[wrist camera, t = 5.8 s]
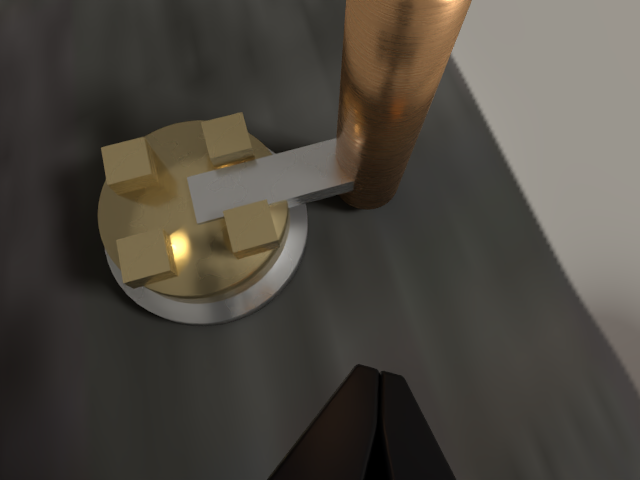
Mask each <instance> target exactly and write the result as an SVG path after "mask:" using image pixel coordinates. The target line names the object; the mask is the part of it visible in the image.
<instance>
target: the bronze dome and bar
mask: <svg viewBox="0 0 640 480" xmlns="http://www.w3.org/2000/svg"><path fill="white" fill-rule="evenodd" d="M471 1H472V0H346V11H345V25H344V39H343V53H342V68H341V82H340V96H339V110H338V124H337V138H335V139H331V140H328V141H324V142H320V143H316V144H312V145H309V146H305V147H301V148H297V149H293V150H289V151H286V152H282V153H278V154H274V155H272V153H271V152H270V151H269V149H268V148H267V147H266V146H265V145H264V144H263V143H262V142H260V141H259V140H258V139H256V138H255V137H254V136H253V135H251V134H249V133H248V131H247V128H246V124H245V121H244V117H243V114H242V112H241V113H237V114H233V115H229V116H225V117H221V118H217V119H213V120H209V121H200V120H198V121H186V122H181V123H176V124H173V125H169V126H166V127H163V128H161V129H159V130H156V131H154V132H152V133H150V134H148V135H147V136H145V137H141V138H137V139H133V140H129V141H125V142H121V143H117V144H113V145H109V146H105V147H101V150H102V156H103V163H104V169H105V175H106V180H105V183H104V185H103V188H102V191H101V195H100V199H99V204H98V226H99V231H100V236H101V239H102V242H103V244H104V247H105V249H106V251H107V253H108V254H109V256H110V258H111V259H112V261H113V262H114V263H115V264H116V266H117V267H118V268H119V269H120V270H121V273H122V279H123V284H125V285H127V286H129V287H131V288H133V289H135V288H139V287H142V286H144V287H145V288H147V289H149V290H151V291H152V292H154V293H156V294H158V295H160V296H162V297H164V298H167V299H170V300H173V301H176V302H182V303H188V304H205V303H213V302H218V301H222V300H226V299H228V298H231V297H234V296H236V295H238V294H240V293H242V292H244V291H246V290H247V289H249V288H250V287H252V286H253V285H255V284H256V283H257V282H258V281H260V280H261V279H262V278H263V277H264V276H265V275H266V274H267V273H268V272H269V271H270V270H271V268H272V267H273V266H274V264H275V263H276V261H277V260H278V258H279V257H280V255H281V253H282V251H283V249H284V246H285V243H286V241H287V238H288V233H289V228H290V208H291V207H295V206H299V205H302V204H306V203H309V202H313V201H317V200H320V199H324V198H328V197H331V196H335V195H339V196H340V197H341V198H342V199H343V200H344V201H345V202H346V203H347V204H349V205H351V206H353V207H356V208H359V209H375V208H378V207H381V206H383V205H385V204H386V203H388V202H389V201H390V200H391V199H392V198H393V196H394V195H395V193H396V191H397V188H398V186H399V183H400V181H401V178H402V176H403V173H404V171H405V168H406V166H407V163H408V161H409V158H410V155H411V153H412V150H413V148H414V145H415V143H416V140H417V138H418V135H419V133H420V130H421V128H422V125H423V123H424V120H425V117H426V115H427V112H428V110H429V107H430V105H431V102H432V100H433V97H434V95H435V92H436V90H437V87H438V85H439V82H440V80H441V77H442V74H443V72H444V69H445V67H446V64H447V62H448V59H449V57H450V54H451V52H452V49H453V47H454V44H455V41H456V39H457V36H458V34H459V31H460V29H461V26H462V24H463V21H464V19H465V16H466V14H467V11H468V8H469V6H470V4H471Z"/></svg>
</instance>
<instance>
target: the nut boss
mask: <svg viewBox="0 0 640 480" xmlns="http://www.w3.org/2000/svg"><path fill="white" fill-rule="evenodd" d="M269 151H270V152H271V153H272V155H274V154H275V153H274V152H272V151H271V150H270V149H269ZM307 237H308V217H307V208H306V204H302V205H299V206H295V207H291V208H290V228H289V233H288V238H287V241H286V243H285V246H284V249H283V251H282V253H281V255H280V257H279V258H278V260H277V261H276V263H275V264H274V266H273V267H272V268H271V270H270V271H269V272H268V273H267V274H266V275H265V276H264V277H263V278H262V279H261V280H260V281H258V282H257V283H256V284H255V285H253V286H252V287H250V288H249V289H247V290H246V291H244V292H242V293H240V294H238V295H236V296H234V297H231V298H228V299H226V300H222V301H218V302H213V303H205V304H188V303H182V302H176V301H173V300H170V299H167V298H164V297H162V296H160V295H158V294H156V293H154V292H152V291H151V290H149V289H147V288H145V287H144V286H142V287H139V288H135V289H133V288H131V287H129V286H127V285H125V284H123V279H122V273H121V270H120V269H119V268H118V267H117V266H116V264H115V263H114V262H113V261H112V259H111V258H110V256H109V254H108V253H107V251H106V249H105V253H106V257H107V261H108V264H109V266H110V269H111V271H112V274H113V275H114V277H115V279H116V280H117V282H118V284H119V285H120V287H121V288H122V289H123V290H124V291H125V292H126V294H127V295H128V296H129V297H130V298H132V299H133V300H134V301H135V302H136V303H137V304H139V305H140V306H142V307H143V308H145V309H146V310H148V311H150V312H152V313H154V314H156V315H158V316H160V317H163V318H165V319H167V320H170V321H173V322H177V323H180V324H185V325H192V326H214V325H222V324H226V323H230V322H234V321H237V320H240V319H242V318H245V317H247V316H249V315H251V314H253V313H255V312H257V311H259V310H260V309H262V308H263V307H265V306H266V305H267V304H269V303H270V302H271V301H273V300H274V299H275V298H276V297H277V296H278V295H279V294H280V293H281V292H282V291H283V290H284V289H285V287H286V286H287V285H288V284H289V283H290V281H291V279H292V278H293V276H294V275H295V273H296V272H297V269H298V267H299V265H300V263H301V261H302V258H303V255H304V252H305V248H306V243H307Z"/></svg>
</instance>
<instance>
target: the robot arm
mask: <svg viewBox="0 0 640 480" xmlns="http://www.w3.org/2000/svg"><path fill="white" fill-rule="evenodd" d="M267 480H456V478H455V476H454V474H453V472H452V470H451V468H450V466H449V464H448V463H447V461H446V459H445V457H444V455H443V453H442V451H441V449H440V447H439V445H438V443H437V441H436V439H435V437H434V435H433V433H432V431H431V429H430V427H429V425H428V423H427V421H426V419H425V417H424V415H423V414H422V412H421V410H420V408H419V406H418V404H417V402H416V400H415V398H414V396H413V394H412V392H411V390H410V388H409V386H408V384H407V382H406V380H405V379H404V377H403V376H401V375H397V374H394V373H390V372H386V371H381V372H380V373H379V371H378V370H377V369H375V368H371V367H368V366H364V365H360V364H358V365H356V366H354V368H353V369H352V370H351V372H350V373H349V374H348V375H347V377H346V378H345V379H344V381H343V382H342V383H341V384H340V386H339V387H338V388H337V390H336V391H335V392H334V394H333V395H332V396H331V397H330V399H329V400H328V401H327V403H326V404H325V405H324V406H323V408H322V409H321V410H320V412H319V413H318V414H317V416H316V417H315V418H314V419H313V421H312V422H311V423H310V425H309V426H308V427H307V428H306V430H305V431H304V432H303V434H302V435H301V436H300V438H299V439H298V440H297V441H296V443H295V444H294V445H293V447H292V448H291V449H290V450H289V452H288V453H287V454H286V456H285V457H284V458H283V460H282V461H281V462H280V463H279V465H278V466H277V467H276V469H275V470H274V471H273V472H272V474H271V475H270V476H269V478H268V479H267Z"/></svg>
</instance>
